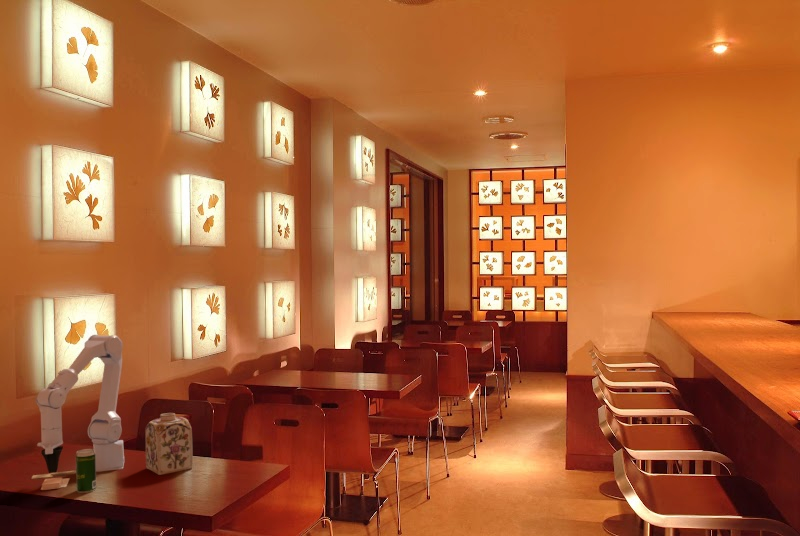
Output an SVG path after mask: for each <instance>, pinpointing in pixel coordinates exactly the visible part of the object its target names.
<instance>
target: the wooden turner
mask: <svg viewBox="0 0 800 536" xmlns="http://www.w3.org/2000/svg"><path fill="white" fill-rule="evenodd" d="M67 475H68V476H69V475H76V470H70V471H69V470H68V471H67V470H66V471H60V472H58V471H57V472H55V473H44V474H43V473H42V474H36V475H35V474H33V475H32V476H31V479H30V480H38V479H50V478H54V477H58V476H59V477H60V476H67Z"/></svg>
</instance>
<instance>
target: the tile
mask: <svg viewBox="0 0 800 536" xmlns="http://www.w3.org/2000/svg"><path fill="white" fill-rule="evenodd" d="M62 479H63V477H62V476H61V477H50V478H44V480H43V482H42V484H41V488H42V491H47V490H48V491H49V490H56V489H61V488H62V487H61V484H62Z"/></svg>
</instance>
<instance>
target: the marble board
mask: <svg viewBox="0 0 800 536" xmlns="http://www.w3.org/2000/svg"><path fill="white" fill-rule="evenodd" d="M70 479H71V478H70V477H69V478H62V484H61V487H60V488H67V486H68V484H69V481H70ZM40 490H42V487H41V488H40ZM42 491H43V490H42Z"/></svg>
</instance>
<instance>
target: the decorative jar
mask: <svg viewBox="0 0 800 536" xmlns="http://www.w3.org/2000/svg"><path fill="white" fill-rule="evenodd" d="M159 416H160V417H159V418H155V419H153V420H151V421H149V422H148V423H147V425H146V426H145V429H144V430H145V465H146V469H147V470H149V471H151V472H153V473H154V474H157V475H159V476H162V475H168V474H173V473H177V472H181V471H182V472H183V471H189V470H191V469H193V466H194V465H193V461H194V459H193V457H194V456H193V452H194V451H193V430H192V426H191V423H190V422H189V419H187V418H186V417H182V416H181V417H180V416H176V413H174V412H167V413H161V414H160V415H159Z"/></svg>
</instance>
